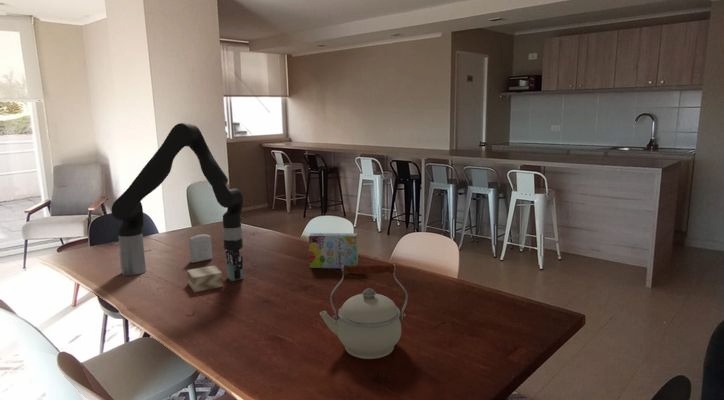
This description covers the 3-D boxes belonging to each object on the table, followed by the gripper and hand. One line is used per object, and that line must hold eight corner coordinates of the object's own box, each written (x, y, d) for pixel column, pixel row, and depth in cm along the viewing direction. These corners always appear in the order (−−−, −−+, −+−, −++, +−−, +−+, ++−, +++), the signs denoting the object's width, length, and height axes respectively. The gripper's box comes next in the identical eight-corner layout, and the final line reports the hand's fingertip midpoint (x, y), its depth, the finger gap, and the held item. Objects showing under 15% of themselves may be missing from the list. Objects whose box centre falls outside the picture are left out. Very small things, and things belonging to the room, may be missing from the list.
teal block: (231, 281, 188) (230, 267, 187) (227, 277, 192) (226, 263, 191) (243, 278, 191) (242, 264, 190) (239, 275, 195) (238, 261, 194)
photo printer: (209, 257, 222) (208, 232, 220) (214, 258, 219) (212, 233, 217) (189, 261, 215) (187, 236, 213) (193, 263, 212) (191, 237, 210)
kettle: (403, 331, 142) (403, 254, 138) (411, 362, 124) (412, 274, 119) (322, 333, 141) (320, 255, 137) (318, 365, 123) (316, 276, 119)
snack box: (358, 265, 207) (357, 232, 204) (356, 269, 202) (356, 236, 199) (312, 264, 209) (311, 232, 207) (309, 268, 204) (308, 235, 201)
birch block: (194, 292, 177) (193, 277, 176) (188, 284, 186) (187, 270, 185) (223, 286, 183) (222, 272, 182) (215, 279, 192) (214, 265, 191)
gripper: (218, 235, 192) (220, 274, 195) (229, 242, 181) (232, 283, 184) (235, 232, 197) (237, 270, 200) (248, 239, 185) (250, 279, 188)
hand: (235, 276), depth 192 cm, fingers closed on teal block, 5 cm apart
